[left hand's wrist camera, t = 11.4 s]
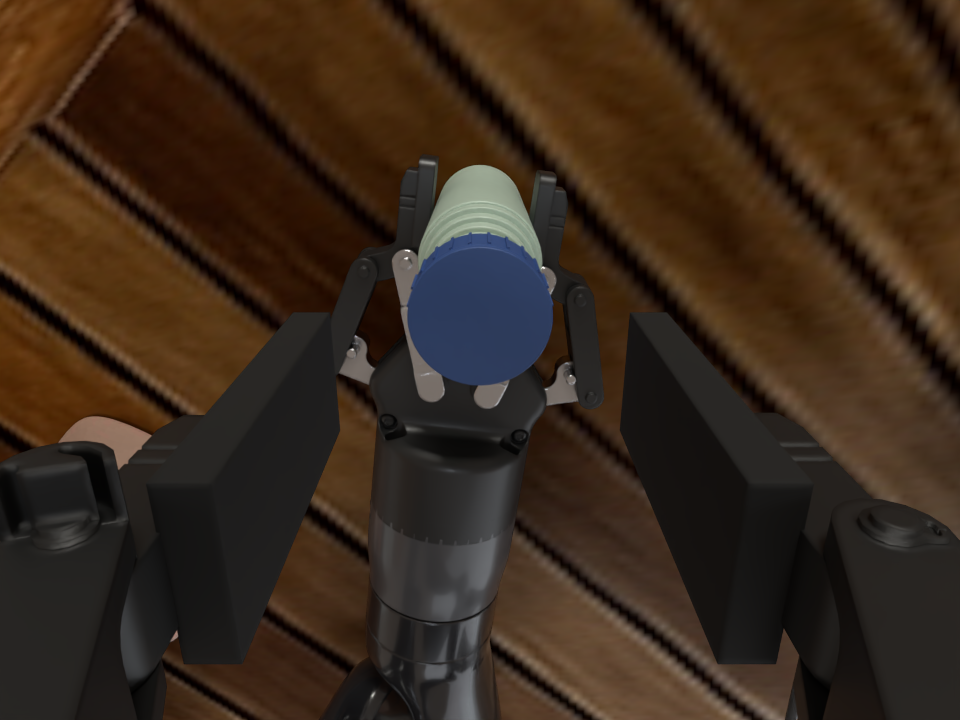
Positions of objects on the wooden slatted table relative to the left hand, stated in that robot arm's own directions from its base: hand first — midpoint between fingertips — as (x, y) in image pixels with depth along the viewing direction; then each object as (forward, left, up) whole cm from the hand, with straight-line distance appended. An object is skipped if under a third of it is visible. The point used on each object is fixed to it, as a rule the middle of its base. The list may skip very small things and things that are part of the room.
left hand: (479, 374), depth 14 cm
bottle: (0, 0, -23) cm, 23 cm away
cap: (0, 0, -4) cm, 4 cm away
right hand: (+2, -2, -16) cm, 17 cm away
